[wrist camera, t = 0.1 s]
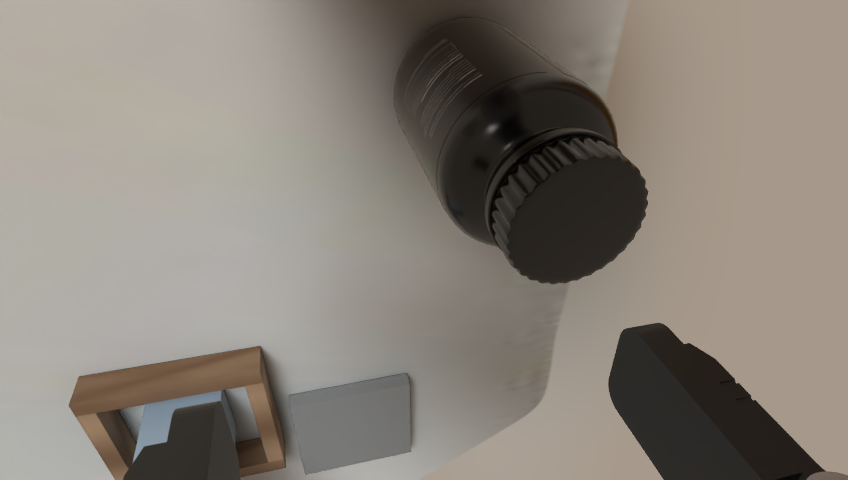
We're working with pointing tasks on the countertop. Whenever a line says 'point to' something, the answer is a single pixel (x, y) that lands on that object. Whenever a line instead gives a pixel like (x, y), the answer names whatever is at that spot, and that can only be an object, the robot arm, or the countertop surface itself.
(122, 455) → the well frame
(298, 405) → the charcoal mat
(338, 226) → the countertop surface
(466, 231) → the supplement bottle
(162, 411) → the slate block
